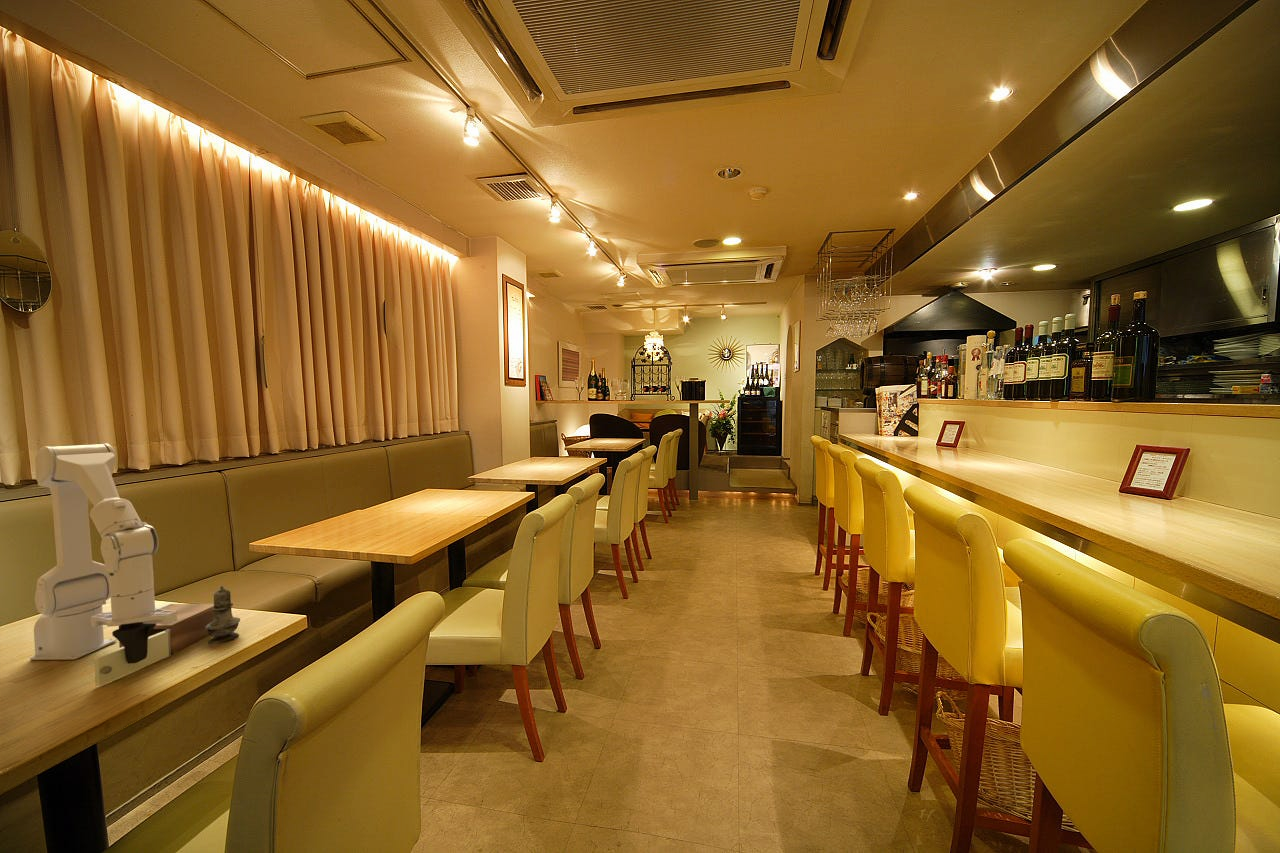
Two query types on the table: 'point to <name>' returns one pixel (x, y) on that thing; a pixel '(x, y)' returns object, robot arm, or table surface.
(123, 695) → the table surface
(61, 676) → the table surface
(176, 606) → the cabinet
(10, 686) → the table surface
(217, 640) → the dark tiered stone ornament
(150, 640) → the door
